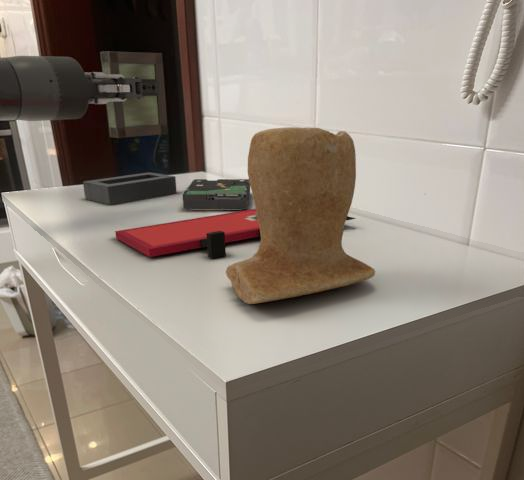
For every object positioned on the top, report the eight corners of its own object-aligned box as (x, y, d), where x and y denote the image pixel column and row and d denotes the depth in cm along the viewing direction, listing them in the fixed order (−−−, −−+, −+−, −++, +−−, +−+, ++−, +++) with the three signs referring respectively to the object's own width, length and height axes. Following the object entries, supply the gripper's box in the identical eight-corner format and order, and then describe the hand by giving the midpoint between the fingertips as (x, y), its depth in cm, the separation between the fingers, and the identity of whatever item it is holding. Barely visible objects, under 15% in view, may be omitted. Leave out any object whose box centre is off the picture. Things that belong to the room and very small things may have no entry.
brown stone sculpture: (319, 260, 64) (324, 119, 57) (390, 290, 55) (406, 126, 48) (198, 283, 57) (189, 125, 51) (257, 321, 48) (254, 135, 41)
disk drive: (193, 194, 102) (183, 211, 88) (192, 179, 100) (181, 192, 87) (250, 194, 102) (248, 210, 88) (250, 178, 100) (248, 192, 87)
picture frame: (118, 137, 80) (108, 51, 75) (109, 137, 82) (99, 51, 77) (167, 133, 86) (162, 53, 81) (159, 133, 88) (153, 53, 83)
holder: (85, 199, 98) (82, 181, 97) (151, 188, 107) (149, 172, 106) (110, 205, 93) (107, 186, 92) (176, 193, 102) (175, 176, 101)
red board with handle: (365, 227, 76) (300, 210, 88) (366, 206, 75) (300, 192, 87) (163, 268, 62) (116, 241, 73) (160, 243, 61) (113, 220, 72)
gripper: (64, 54, 66) (179, 57, 77) (12, 57, 74) (122, 60, 86) (74, 122, 69) (183, 116, 80) (23, 118, 78) (128, 113, 89)
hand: (151, 87), depth 83 cm, fingers closed on picture frame, 2 cm apart
